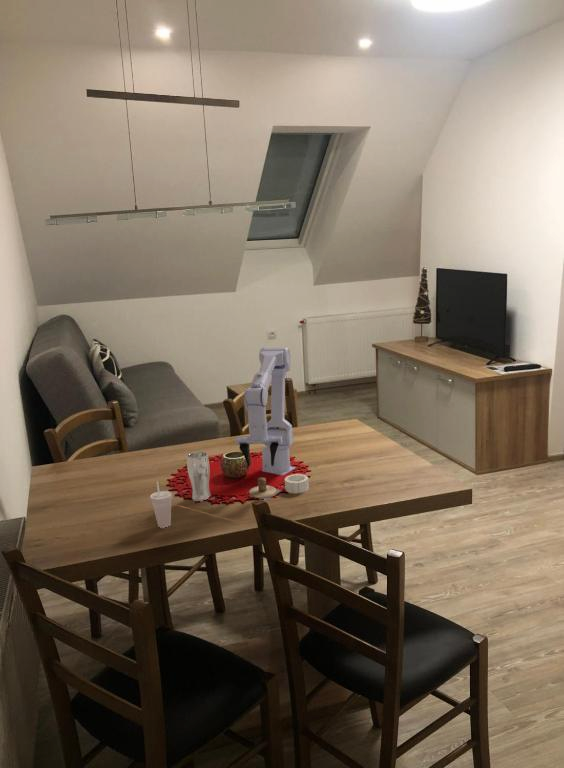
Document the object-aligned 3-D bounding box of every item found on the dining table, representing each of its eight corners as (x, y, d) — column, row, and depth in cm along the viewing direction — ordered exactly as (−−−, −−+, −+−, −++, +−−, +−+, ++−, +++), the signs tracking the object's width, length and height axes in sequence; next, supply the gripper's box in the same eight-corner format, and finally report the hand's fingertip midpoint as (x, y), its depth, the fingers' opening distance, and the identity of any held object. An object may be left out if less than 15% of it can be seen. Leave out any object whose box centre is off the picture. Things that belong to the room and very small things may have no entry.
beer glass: (215, 495, 208) (211, 451, 205) (206, 503, 202) (202, 459, 199) (196, 493, 211) (192, 450, 207) (187, 502, 204) (182, 458, 201)
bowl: (281, 491, 207) (280, 480, 207) (294, 483, 213) (293, 472, 212) (299, 496, 203) (299, 484, 202) (313, 487, 209) (312, 476, 208)
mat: (243, 496, 206) (243, 495, 206) (260, 486, 213) (260, 485, 213) (265, 501, 201) (265, 500, 200) (282, 491, 208) (282, 490, 207)
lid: (244, 495, 206) (243, 481, 205) (260, 485, 213) (259, 472, 211) (264, 500, 201) (263, 485, 200) (281, 490, 207) (280, 476, 206)
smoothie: (154, 521, 191) (149, 478, 188) (176, 519, 192) (171, 476, 189) (152, 531, 185) (146, 486, 182) (174, 529, 186) (169, 484, 182)
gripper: (232, 429, 198) (236, 470, 202) (279, 427, 197) (281, 469, 200) (237, 422, 205) (240, 462, 208) (281, 421, 203) (284, 461, 207)
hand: (260, 465), depth 204 cm, fingers open, 7 cm apart
